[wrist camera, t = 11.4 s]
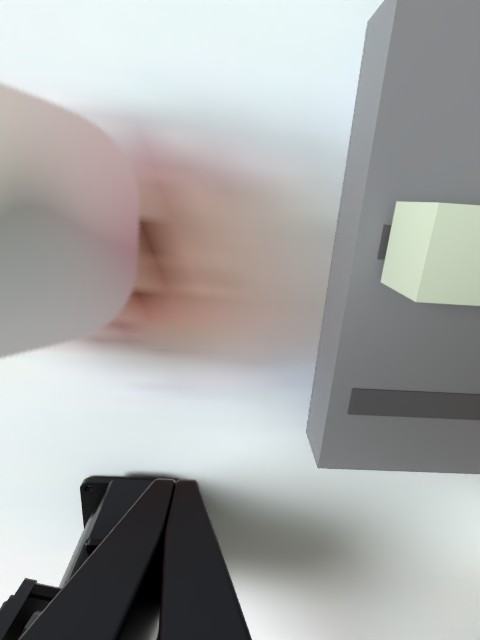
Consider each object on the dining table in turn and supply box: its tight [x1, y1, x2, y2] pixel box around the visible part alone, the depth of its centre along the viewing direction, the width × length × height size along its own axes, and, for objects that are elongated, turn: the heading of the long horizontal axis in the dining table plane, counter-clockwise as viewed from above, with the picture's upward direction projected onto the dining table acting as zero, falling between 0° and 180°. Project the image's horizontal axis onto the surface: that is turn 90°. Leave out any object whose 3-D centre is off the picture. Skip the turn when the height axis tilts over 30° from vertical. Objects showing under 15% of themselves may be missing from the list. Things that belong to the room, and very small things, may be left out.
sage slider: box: [381, 201, 480, 306], centre depth 13 cm, size 3×4×3 cm
